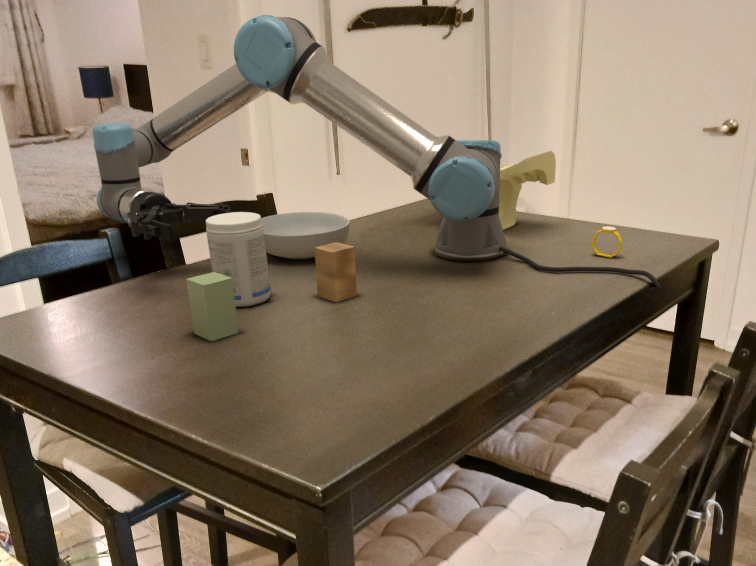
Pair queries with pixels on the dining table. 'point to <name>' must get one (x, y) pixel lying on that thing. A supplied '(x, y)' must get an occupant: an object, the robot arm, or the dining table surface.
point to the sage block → (212, 306)
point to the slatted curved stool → (520, 173)
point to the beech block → (336, 271)
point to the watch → (607, 230)
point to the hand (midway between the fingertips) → (205, 226)
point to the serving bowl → (302, 233)
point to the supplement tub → (240, 255)
